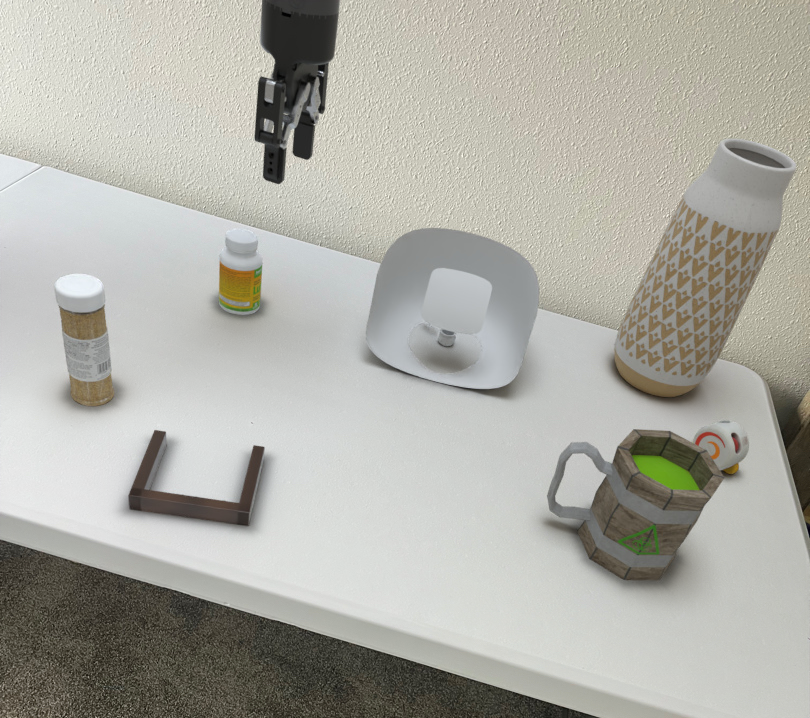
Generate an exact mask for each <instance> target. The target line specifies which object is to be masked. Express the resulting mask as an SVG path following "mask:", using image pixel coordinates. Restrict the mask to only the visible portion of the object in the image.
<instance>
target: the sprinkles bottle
mask: <svg viewBox="0 0 810 718" xmlns="http://www.w3.org/2000/svg"><path fill="white" fill-rule="evenodd" d="M53 287H54V295H55V301H56V304H57V306H58V308H59V315H60V322H61V334H62V341H63V349H64V354H65V362H66V368H67V369H66V370H67V373H68V376H69V378H68V379H69V384H70V396H71V398H72V399H73V401H75V402H76V403H78V404H80V405H83V406H88V407H98V406H103V405H106V404H107V403H109V402H110V401H112V400H113V398H114V397H115V389H114V387H113V379H112V378H113V377H112V359H111V349H110V348H111V347H110V339H109V330H108V326H107V319H106V311H105V308H106V293H105V292H106V291H105V286H104V283H103V282H102V280H100V279H99V278H98V277H96V276H93V275H91V274H85V273H70V274H69V273H68V274H66V275H63V276H61V277H59V278H58V279H57V280H55V282H54V286H53Z"/></svg>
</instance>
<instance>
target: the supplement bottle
mask: <svg viewBox="0 0 810 718" xmlns="http://www.w3.org/2000/svg"><path fill="white" fill-rule="evenodd" d="M224 238H225V239H224V244H225V246H224V247H222V249H221V250H220V253H219V261H218V262H219V265H218V305H219V306H220V308H221V309H222V310H223V311H225V312H227V313H229V314H232V315H237V316H248V315H252V314H255V313H256V312H258V311H259V309H260V307H261V296H262V280H263V279H262V278H263V255H262V254H261V252H260V251H259V250H258V247H259V237H258V235H257V234H256V233H255V232H254V231H251V230H249V229H245V228H231V229H229V230H227V231H226V232H225V237H224Z"/></svg>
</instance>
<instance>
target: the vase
mask: <svg viewBox="0 0 810 718" xmlns="http://www.w3.org/2000/svg"><path fill="white" fill-rule="evenodd" d="M796 170H797V164H796V162H795V161H794V160H793V159H792V158H791V157H790V156H788V155H787V154H786V153H784V152H782V151H781V150H778V149H775V148H773V147H771V146H769V145H766V144H764V143H760V142H757V141H752V140H748V139H744V138H735V137H734V138H725V139H722V140H721V141H720V142H719V143H718V146H717V148H716V150H715V152H714V154H713V156H712V158H711V160H710V163H709V165H708V166H707V168H706V170H704V171H703V172H702V173H701V174H700V175H699V177H697V179H695V180H694V181H693V182H692V183H691V184H690V185H689V187H688V188H687V189H686V190H685V191H684V192H683V193H684V194H683V195H682V197H681V198H680V201H679V203H678V205H677V207H676V209H675V211H674V212H673V214H672V217H671V219H670V220H669V222H668V225H667V226H666V228H665V231H664V233H663V234H662V236H661V239H660V240H659V243H658V245H657V247H656V249H655V251H654V253H653V255H652V257H651V260H650V261H649V264H648V265H647V268H646V270H645V272H644V273H643V276H642V278H641V279H640V282H639V284H638V286H637V288H636V290H635V292H634V295H633V297H632V299H631V301H630V303H629V305H628V307H627V309H626V311H625V313H624V316H623V318H622V320H621V323H620V325H619V328H618V331H617V333H616V336H615V337H616V338H615V341H614V347H613V351H614V353H613V354H614V363H615V366H616V369H617V372H618V373H619V374H620V376H621V377H622V379H624V381H626V382H627V383H628V384H629V385H630V386H632V387H633V388H635V389H637V390H639V391H641V392H643V393H645V394H648V395H652V396H656V397H659V398H660V397H661V398H675V397H679V396H681V395H684V394H687V393H689V392H690V391H692V390H693V389H695V388H697V387H698V386H699V385H700V384H701V383H702V382H703V381H704V380H705V379H706V378H707V376H708V375H709V374H710V372H711V370H712V369H713V368H714V366H715V364H716V362H717V361H718V359H719V357H720V355H721V354H722V352H723V350H724V348H725V346H726V344H727V341H728V339H729V337H730V335H731V333H732V331H733V328H734V326H735V324H736V323H737V320H738V319H739V316H740V314H741V313H742V310H743V308H744V305H745V303H746V301H747V299H748V297H749V295H750V293H751V291H752V289H753V286H754V285H755V282H756V280H757V278H758V276H759V274H760V272H761V270H762V267H763V265H764V263H765V261H766V260H767V257H768V255H769V253H770V250H771V248H772V245H773V243H774V241H775V239H776V237H777V235H778V232H779V231H780V228H781V224H782V219H783V218H782V217H783V202H784V195H785V193H786V191H787V188H788V186H789V185H790V183H791V180H792V179H793V176H794V175H795V172H796Z"/></svg>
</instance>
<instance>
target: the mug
mask: <svg viewBox="0 0 810 718" xmlns="http://www.w3.org/2000/svg"><path fill="white" fill-rule="evenodd" d="M692 442H693V441H690V440H688V439H686V438H684V437H683V436H680V435H679V434H677V433H674V432H673V431H672V430H660V429H638V428H633V429H632V430H631V431H630V432H629V434H628V435H626V437H625V438H624V439H623V440H622V441H621V442H620V443H619V444H618V445H617V447H616V450H615V453H614V456H613V459H612V462H609V461H607V460H605V459H604V457H603V456H602V454H601V452H600V451H599V449H598V448H597V447H595V446H594V445H592V444H591V443H590V442H588V441H577V442H575V441H574V442H573V441H572V442H570V443H569V444H568V446H567V447H566V448H565V449H563V451H562V452H561V453H560V454H559V456H558V460H557V464H556V468H555V471H554V474H553V476H552V479H551V481H550V485H549V488H548V491H547V493H546V499H547V504H548V510H549V512H551V513H552V514H554V515H555V516H556V517H558V518H563V519H573V520H579V521H583V522H582V523H581V525H580V526H579V527H578V529H577V533H578V536H579V538H580V541H581V543H582V545H583V548H584V550H585V553H586V554H587V557H588V560H589V561H592V562H593V563H595V564H597V565H598V566H600V567H602V568H604V569H605V570H606V571H608V572H610V573H612V574H613V575H615V576H617V577H618V578H620V579H622V580H623V581H660V580H661V579H662V577H663V576H664V574H665V573H666V571H667V570H668V568H669V567H670V565H671V564H672V562H673V561H674V559H675V557H676V555H677V552H678V551H679V548H680V547H681V545H683V543H684V541H685V540H686V539H687V537H688V536H689V534H690V533H691V531H692V529H693V528H694V526H696V524H697V522H698V520H699V518H700V516H701V514H702V512H703V510H704V508H705V506H706V505H707V504H708V502H709V501H710V500H711V499H712V497H713V496H714V494H715V493H716V491H717V490H718V488H719V487H720V486H721V484H722V483H723V481H724V480H725V476H724V474H723V473H722V470H719V468H718V467H717V465H716V464H715V462H714V461H713V459H712V457H711V456H710V454H709V453H708V451H707V450H705V449H703V448H701V447H700V446H698V445H696V444H694V443H692ZM576 454H577V455H578V454H584V455H586V456H587V457H588V458H590V459H591V461H592V463H593V464H594V466H595V468H596V469H597V471H599V472H600V473H602V474H604V475H605V477H604V478H603V479H602V481H601V483H600V485H599V486H598V488H597V490H596V491H595V494H594V497H593V500H592V502H591V506H590V508H585V507H579V506H569V505H567V506H566V505H562V504H560V503H558V502H557V501H556V496H557V492H558V490H559V488H560V485H561V483H562V481H563V478H564V475H565V470H566V465H567V462H568V461H569V459H570V458H571V457H572V455H576Z"/></svg>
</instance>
